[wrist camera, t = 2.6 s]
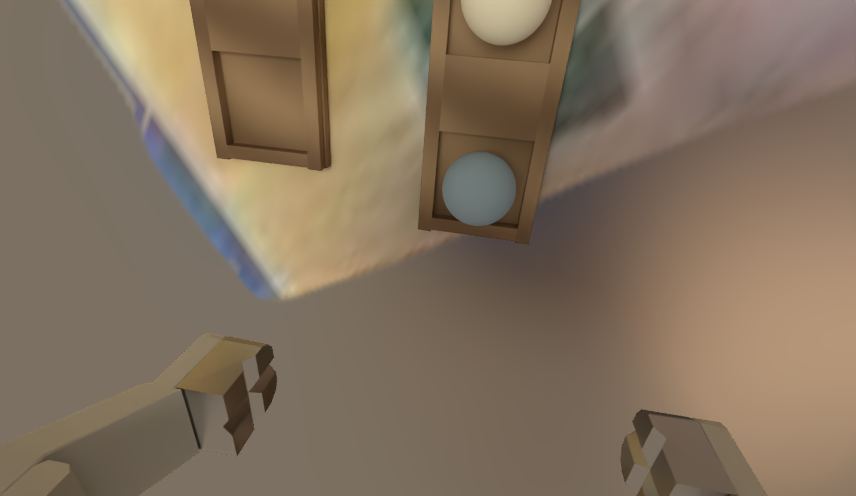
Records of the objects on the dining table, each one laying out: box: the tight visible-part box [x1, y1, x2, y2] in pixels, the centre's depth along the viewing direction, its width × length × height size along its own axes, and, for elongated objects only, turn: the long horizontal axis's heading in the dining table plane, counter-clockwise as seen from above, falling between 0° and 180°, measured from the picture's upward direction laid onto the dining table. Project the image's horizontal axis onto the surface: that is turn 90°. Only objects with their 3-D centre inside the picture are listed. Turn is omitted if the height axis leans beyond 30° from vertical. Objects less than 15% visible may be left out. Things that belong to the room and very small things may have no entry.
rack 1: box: [190, 0, 331, 171], centre depth 21 cm, size 16×7×1 cm, turn 176°
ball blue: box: [442, 152, 516, 226], centre depth 22 cm, size 4×4×4 cm
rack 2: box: [418, 0, 581, 244], centre depth 21 cm, size 16×7×1 cm, turn 176°
